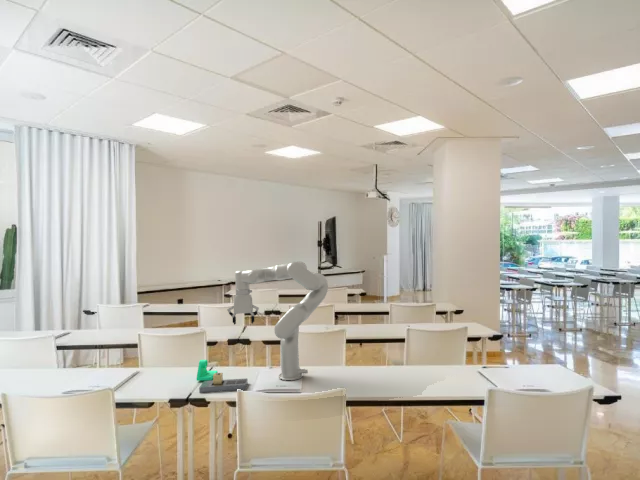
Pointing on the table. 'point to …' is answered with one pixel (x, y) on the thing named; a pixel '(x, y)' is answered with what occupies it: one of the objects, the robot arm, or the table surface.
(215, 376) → the nut block
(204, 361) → the camera mount
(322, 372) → the table surface
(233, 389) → the grey compartment tray
